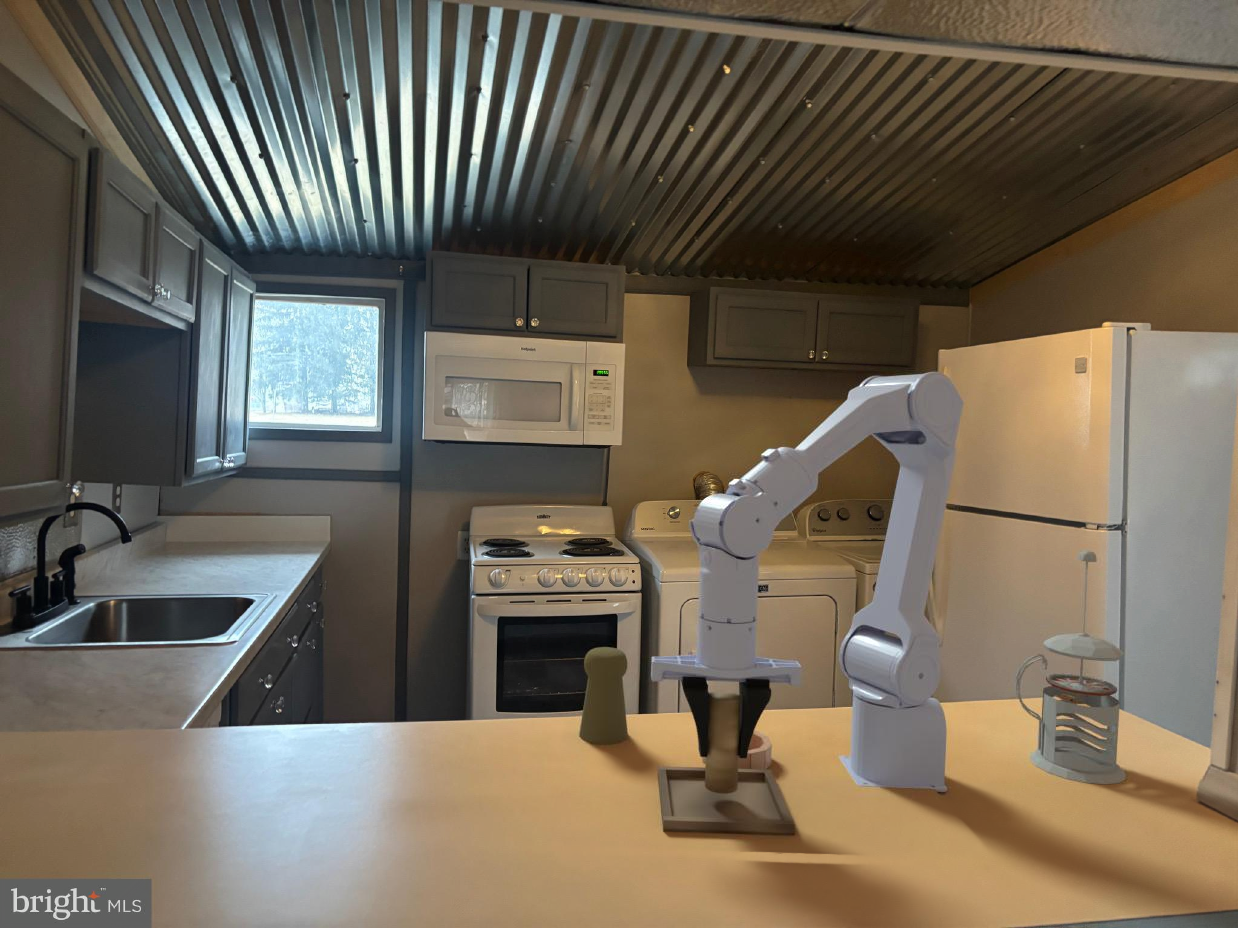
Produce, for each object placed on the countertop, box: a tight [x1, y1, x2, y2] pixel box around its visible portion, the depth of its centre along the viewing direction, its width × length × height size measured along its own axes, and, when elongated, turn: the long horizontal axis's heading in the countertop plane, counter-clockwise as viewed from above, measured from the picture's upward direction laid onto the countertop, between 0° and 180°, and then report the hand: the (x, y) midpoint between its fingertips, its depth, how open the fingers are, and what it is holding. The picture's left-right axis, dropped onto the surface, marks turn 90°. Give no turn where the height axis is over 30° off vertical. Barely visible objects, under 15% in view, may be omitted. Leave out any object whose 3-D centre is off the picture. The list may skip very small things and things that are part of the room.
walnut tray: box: [657, 765, 796, 837], centre depth 80 cm, size 12×12×2 cm
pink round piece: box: [701, 730, 773, 770], centre depth 91 cm, size 8×8×3 cm
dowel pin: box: [704, 690, 741, 794], centre depth 80 cm, size 3×3×9 cm
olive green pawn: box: [578, 646, 629, 746], centre depth 97 cm, size 6×6×11 cm
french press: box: [1014, 550, 1127, 785], centre depth 93 cm, size 10×12×25 cm
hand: (722, 753), depth 79 cm, fingers closed on dowel pin, 3 cm apart
